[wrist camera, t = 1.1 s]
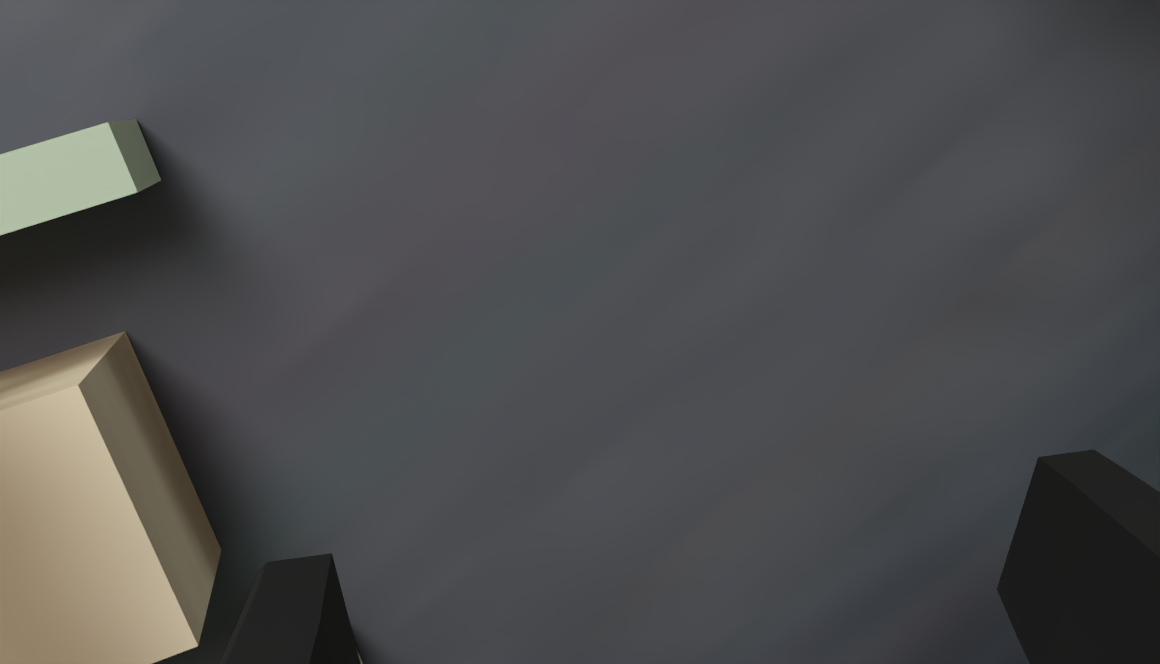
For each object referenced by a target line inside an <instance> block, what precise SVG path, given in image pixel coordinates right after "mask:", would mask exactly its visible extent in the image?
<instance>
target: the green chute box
mask: <svg viewBox="0 0 1160 664" xmlns="http://www.w3.org/2000/svg"><path fill="white" fill-rule="evenodd" d="M159 181H161V178H160V176H159V173H158V171H157V168H156V166H155V164H154V161H153V159H152V156H151V154H150V152H149V149H148V147H147V144H146V142H145V140H144V137H143V135H142V132H141V130H140V128H139V125H138V123H137V120H136V119H130V120H122V121H114V122H107V123H104V124H100V125H97V126H94V127H90V128H87V129H84V130H81V131H77V132H74V133H71V134H67V135H64V136H61V137H57V138H54V139H51V140H47V141H44V142H41V143H37V144H34V145H31V146H27V147H24V148H21V149H17V150H14V151H11V152H7V153H4V154H1V155H0V235H3V234H6V233H9V232H13V231H16V230H19V229H22V228H25V227H29V226H32V225H35V224H38V223H41V222H45V221H48V220H51V219H54V218H57V217H61V216H64V215H67V214H70V213H73V212H77V211H80V210H83V209H86V208H89V207H93V206H96V205H99V204H102V203H105V202H109V201H112V200H115V199H118V198H121V197H125V196H128V195H131V194H134V193H137V192H140V191H142V190H144V189H145V188H147V187H149V186H151V185H153V184H155V183H157V182H159ZM357 652H358V651H357ZM358 656H359V659H360V663H361V664H363V663H362V660H361V658H360V655H359V653H358Z"/></svg>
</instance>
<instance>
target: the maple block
mask: <svg viewBox="0 0 1160 664" xmlns="http://www.w3.org/2000/svg"><path fill="white" fill-rule="evenodd" d="M220 555H221V548H220V546H219V543H218V541H217V539H216V537H215V534H214V532H213V530H212V528H211V525H210V523H209V521H208V518H207V516H206V514H205V512H204V509H203V507H202V505H201V502H200V500H199V498H198V496H197V493H196V491H195V489H194V487H193V484H192V482H191V480H190V477H189V475H188V473H187V471H186V468H185V466H184V464H183V461H182V459H181V457H180V455H179V452H178V450H177V448H176V446H175V443H174V441H173V439H172V436H171V434H170V432H169V430H168V427H167V425H166V423H165V420H164V418H163V416H162V414H161V411H160V409H159V407H158V405H157V402H156V400H155V398H154V395H153V393H152V391H151V389H150V386H149V384H148V382H147V379H146V377H145V375H144V373H143V370H142V368H141V366H140V364H139V361H138V359H137V357H136V354H135V352H134V350H133V348H132V345H131V343H130V341H129V338H128V336H127V334H126V332H125V331H124V332H121V333H118V334H115V335H112V336H109V337H106V338H103V339H100V340H97V341H94V342H91V343H88V344H84V345H81V346H78V347H75V348H72V349H69V350H66V351H63V352H60V353H57V354H54V355H51V356H48V357H45V358H42V359H38V360H35V361H32V362H29V363H26V364H23V365H20V366H17V367H14V368H11V369H8V370H5V371H2V372H0V664H152V663H155V662H157V661H160V660H163V659H165V658H168V657H171V656H173V655H176V654H179V653H181V652H184V651H187V650H189V649H192V648H195V647H197V646H198V645H199V641H200V637H201V633H202V629H203V624H204V620H205V616H206V612H207V608H208V604H209V600H210V596H211V592H212V587H213V583H214V579H215V575H216V571H217V567H218V563H219V559H220Z"/></svg>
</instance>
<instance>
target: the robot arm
mask: <svg viewBox="0 0 1160 664" xmlns="http://www.w3.org/2000/svg"><path fill="white" fill-rule="evenodd" d="M997 590H998V593H999V595H1000V597H1001V600H1002V602H1003V604H1004V607H1005V609H1006V611H1007V614H1008V616H1009V618H1010V621H1011V623H1012V625H1013V628H1014V630H1015V632H1016V635H1017V637H1018V639H1019V642H1020V644H1021V646H1022V648H1023V650H1024V652H1025V654H1026V656H1027V659H1028V661H1029V663H1030V664H1160V492H1158V491H1157V490H1155V489H1154V488H1152V487H1151V486H1150V485H1148V484H1146V483H1145V482H1143V481H1142V480H1140V479H1139V478H1137V477H1136V476H1134V475H1133V474H1131V473H1130V472H1128V471H1127V470H1125V469H1124V468H1122V467H1121V466H1119V465H1117V464H1116V463H1114V462H1113V461H1111V460H1109V459H1108V458H1106V457H1105V456H1103V455H1101V454H1100V453H1098V452H1097V451H1095V450H1088V451H1081V452H1073V453H1066V454H1059V455H1051V456H1044V457H1038V460H1037V463H1036V466H1035V469H1034V473H1033V476H1032V479H1031V482H1030V485H1029V489H1028V492H1027V495H1026V498H1025V501H1024V504H1023V508H1022V511H1021V514H1020V517H1019V520H1018V524H1017V527H1016V530H1015V533H1014V536H1013V540H1012V543H1011V546H1010V549H1009V552H1008V556H1007V559H1006V562H1005V565H1004V568H1003V571H1002V575H1001V578H1000V581H999V584H998V587H997ZM219 664H361V663H360V659H359V656H358V652H357V648H356V644H355V640H354V637H353V633H352V629H351V625H350V621H349V617H348V614H347V610H346V606H345V602H344V598H343V595H342V591H341V587H340V583H339V579H338V575H337V572H336V568H335V564H334V560H333V556H332V553H331V554H324V555H317V556H309V557H302V558H295V559H287V560H280V561H273V562H267V563H266V564H265V565H264V566H263V567H262V568H261V569H260V570H259V571H258V573H257V575H256V578H255V581H254V583H253V586H252V588H251V591H250V593H249V596H248V598H247V601H246V603H245V606H244V608H243V610H242V613H241V615H240V617H239V620H238V622H237V624H236V627H235V629H234V631H233V634H232V636H231V638H230V640H229V643H228V645H227V647H226V649H225V651H224V654H223V656H222V658H221V660H220V662H219Z"/></svg>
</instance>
